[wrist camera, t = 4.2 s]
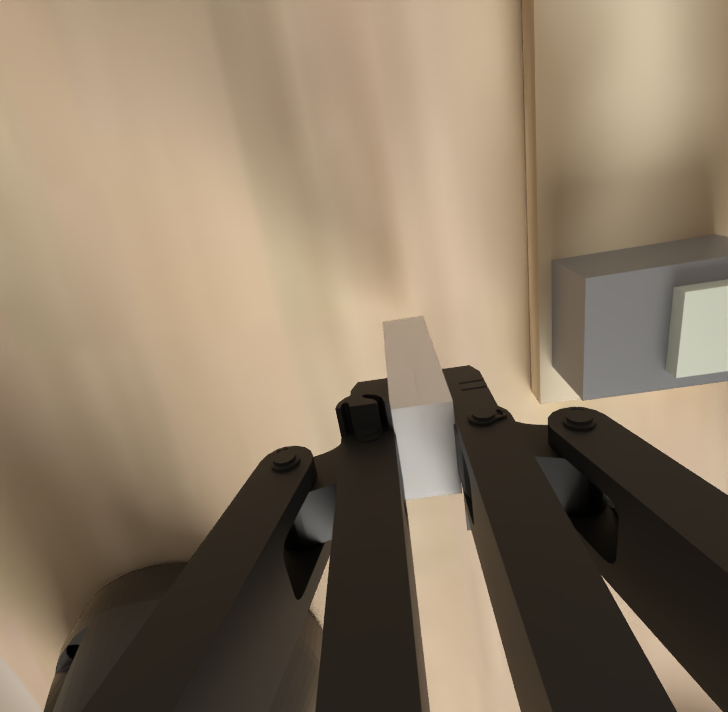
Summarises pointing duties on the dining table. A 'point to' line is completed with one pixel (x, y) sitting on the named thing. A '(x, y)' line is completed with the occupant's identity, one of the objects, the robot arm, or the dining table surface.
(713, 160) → the board
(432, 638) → the dining table surface
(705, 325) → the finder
